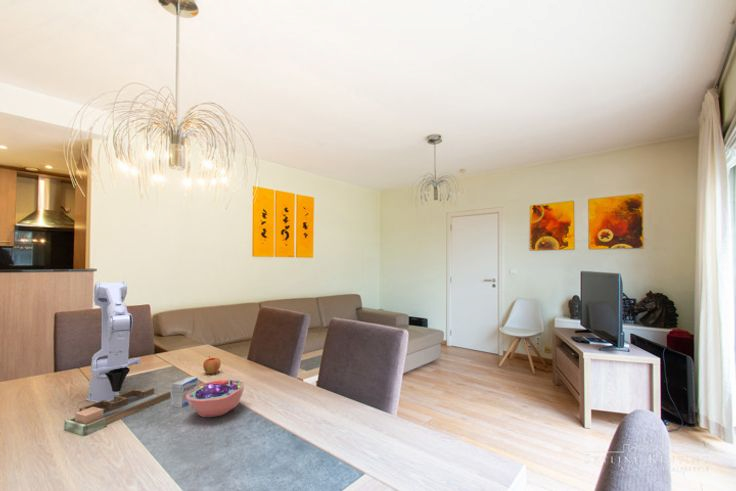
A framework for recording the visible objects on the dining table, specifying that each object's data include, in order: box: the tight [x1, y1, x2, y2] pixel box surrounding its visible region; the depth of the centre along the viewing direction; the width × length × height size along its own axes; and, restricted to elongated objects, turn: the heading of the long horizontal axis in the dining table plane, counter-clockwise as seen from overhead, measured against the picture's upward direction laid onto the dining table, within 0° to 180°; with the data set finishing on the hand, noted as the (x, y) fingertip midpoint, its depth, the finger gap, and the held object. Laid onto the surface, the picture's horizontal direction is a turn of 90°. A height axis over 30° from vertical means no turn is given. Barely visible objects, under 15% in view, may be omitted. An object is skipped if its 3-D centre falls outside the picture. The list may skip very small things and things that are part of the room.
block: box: [74, 407, 103, 425], centre depth 105 cm, size 5×5×4 cm
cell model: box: [186, 379, 245, 418], centre depth 117 cm, size 17×20×11 cm
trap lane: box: [63, 387, 172, 437], centre depth 116 cm, size 15×29×3 cm, turn 160°
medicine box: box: [171, 376, 199, 408], centre depth 123 cm, size 8×4×9 cm, turn 168°
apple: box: [202, 355, 221, 375], centre depth 156 cm, size 7×7×8 cm
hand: (116, 390), depth 113 cm, fingers closed
